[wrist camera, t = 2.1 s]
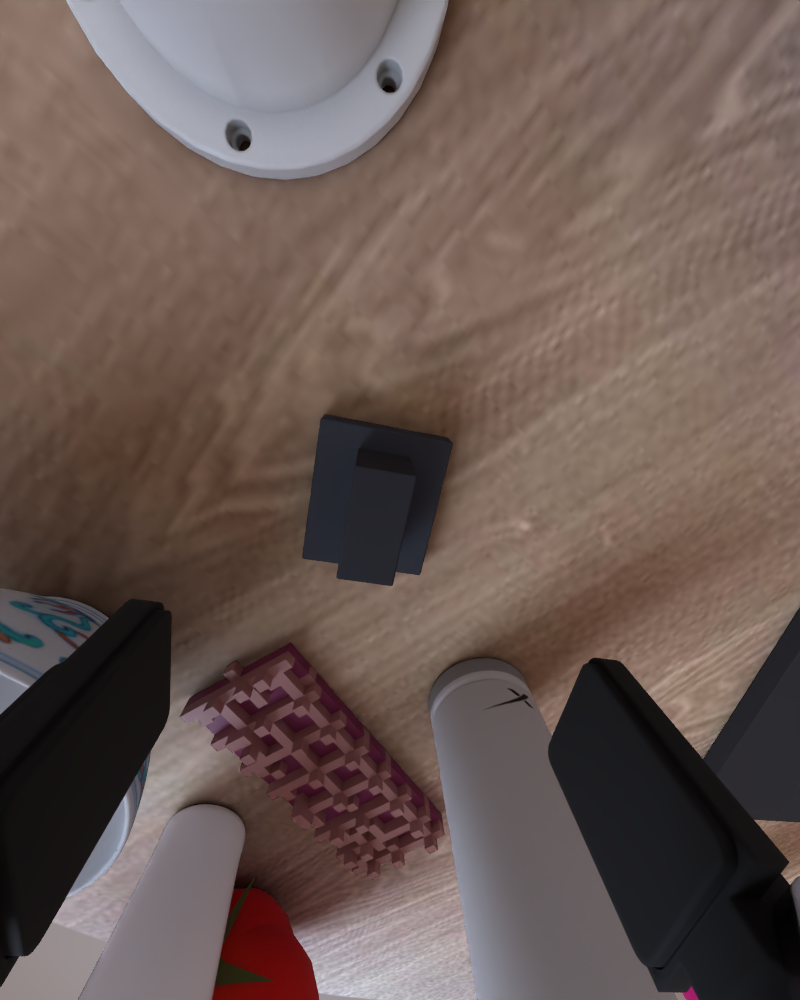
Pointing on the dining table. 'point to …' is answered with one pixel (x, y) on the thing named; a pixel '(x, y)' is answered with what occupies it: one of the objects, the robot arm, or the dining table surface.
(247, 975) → the tomato
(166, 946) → the drinking glass
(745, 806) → the black u-shaped block
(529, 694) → the travel mug
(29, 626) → the chinaware
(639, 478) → the dining table surface
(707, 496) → the dining table surface
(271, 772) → the chocolate bar
